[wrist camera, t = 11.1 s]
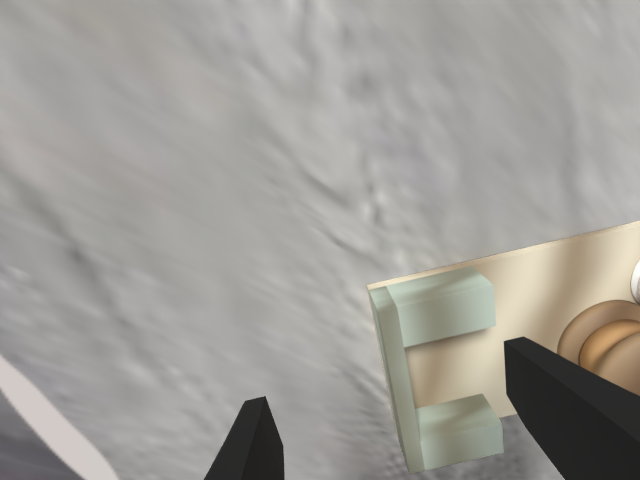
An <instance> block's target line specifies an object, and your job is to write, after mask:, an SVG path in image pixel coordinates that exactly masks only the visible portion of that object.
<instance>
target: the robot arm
mask: <svg viewBox="0 0 640 480" xmlns="http://www.w3.org/2000/svg"><path fill="white" fill-rule="evenodd" d="M504 359H505V378H506V395H507V396H508V398H509V400H510V402H511V403H512V405H513V407H514V409H515V410H516V412H517V414H518V415H519V417H520V419H521V420H522V422H523V423H524V425H525V427H526V428H527V430H528V431H529V432H530V434H531V435H532V436H533V438H534V439H535V440H536V442H537V443H538V444H539V446H540V447H541V448H542V450H543V451H544V452H545V454H546V455H547V456H548V458H549V459H550V460H551V462H552V463H553V464H554V466H555V467H556V468H557V470H558V471H559V472H560V474H561V475H562V476H563V478H564V479H565V480H640V396H639V395H637V394H635V393H632V392H630V391H628V390H626V389H624V388H622V387H620V386H618V385H616V384H614V383H612V382H610V381H608V380H606V379H604V378H602V377H600V376H598V375H596V374H594V373H592V372H590V371H588V370H586V369H584V368H582V367H581V366H579V365H577V364H575V363H573V362H571V361H569V360H567V359H566V358H564V357H562V356H560V355H558V354H556V353H554V352H553V351H551V350H549V349H547V348H545V347H543V346H542V345H540V344H538V343H536V342H534V341H532V340H530V339H528V338H526V337H524V336H523V337H519V338H515V339H510V340H506V341H504ZM204 480H284V454H283V444H282V441H281V439H280V436H279V433H278V430H277V427H276V425H275V422H274V419H273V416H272V413H271V411H270V408H269V405H268V402H267V399H266V397H265V396H264V397H260V398H256V399H251V400H247V401H245V402H244V404H243V405H242V408H241V410H240V412H239V414H238V416H237V418H236V420H235V422H234V424H233V426H232V428H231V430H230V432H229V434H228V436H227V438H226V440H225V442H224V444H223V445H222V447H221V449H220V451H219V453H218V455H217V457H216V458H215V460H214V462H213V464H212V466H211V468H210V470H209V471H208V473H207V475H206V477H205V478H204Z"/></svg>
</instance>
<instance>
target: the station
mask: <svg viewBox="0 0 640 480" xmlns="http://www.w3.org/2000/svg"><path fill="white" fill-rule="evenodd" d="M639 260H640V221H638V222H633V223H629V224H625V225H620V226H616V227H612V228H608V229H603V230H599V231H595V232H591V233H586V234H582V235H578V236H574V237H569V238H565V239H561V240H557V241H552V242H548V243H544V244H539V245H535V246H531V247H527V248H522V249H518V250H514V251H510V252H505V253H501V254H497V255H493V256H488V257H484V258H480V259H476V260H471V261H467V262H463V263H459V264H454V265H450V266H446V267H441V268H437V269H433V270H429V271H424V272H420V273H416V274H412V275H407V276H403V277H399V278H395V279H390V280H386V281H382V282H378V283H373V284H369V285H367V289H368V294H369V299H370V304H371V309H372V314H373V319H374V324H375V329H376V334H377V339H378V344H379V349H380V353H381V358H382V363H383V368H384V373H385V378H386V383H387V388H388V393H389V398H390V403H391V408H392V413H393V418H394V423H395V428H396V433H397V436H398V440H399V443H400V446H401V449H402V452H403V455H404V458H405V462H406V465H407V468H408V471H409V474H413V473H417V472H422V471H426V470H430V469H435V468H439V467H443V466H448V465H452V464H457V463H461V462H465V461H470V460H474V459H478V458H483V457H487V456H492V455H496V454H500V453H504V448H503V431H502V422H501V421H500V419H499V418H501V417H506V416H510V415H515V414H517V412H516V410H515V409H514V407H513V405H512V403H511V402H510V400H509V398H508V396H507V395H506V378H505V359H504V341H506V340H510V339H515V338H519V337H523V336H524V337H526V338H528V339H530V340H532V341H534V342H536V343H538V344H540V345H542V346H543V347H545V348H547V349H549V350H551V351H553V352H554V353H556V354H558V355H560V356H562V357H564V358H566V359H567V360H569V361H571V362H573V363H575V364H577V365H579V366H581V367H582V368H584V369H586V370H588V371H590V372H592V373H594V374H596V375H598V376H600V377H602V378H604V379H606V380H608V381H610V382H612V383H614V384H616V385H618V386H620V387H622V388H624V389H626V390H628V391H630V392H632V393H635V394H637V395H639V396H640V303H639V302H638V301H637V300H636V299H635V298H634V296H633V294H632V290H631V278H632V274H633V271H634V269H635V266H636V265H637V263H638V261H639Z"/></svg>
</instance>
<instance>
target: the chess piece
mask: <svg viewBox="0 0 640 480" xmlns="http://www.w3.org/2000/svg"><path fill="white" fill-rule="evenodd" d="M631 290H632V294H633V296H634V298H635V299H636V300H637V301H638V302H639V303H640V260H639V261H638V263H637V265H636V266H635V269H634V271H633V274H632V278H631Z"/></svg>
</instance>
